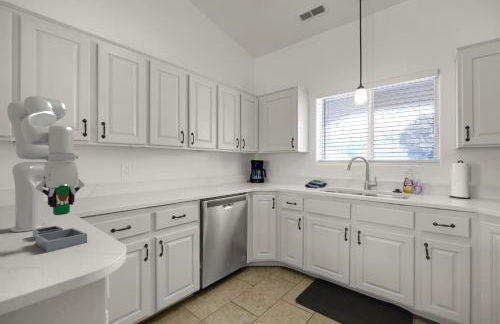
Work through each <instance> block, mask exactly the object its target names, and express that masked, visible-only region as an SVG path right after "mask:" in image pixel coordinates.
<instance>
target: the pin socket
mask: <svg viewBox="0 0 500 324" xmlns="http://www.w3.org/2000/svg"><path fill="white" fill-rule="evenodd" d="M60 230H64V229H63V227H60V226H58V225H51V226H46V227H44V228H40V229H35V230H32V238H34V239H35V235H39V234H44V233H50V232H55V231H60Z"/></svg>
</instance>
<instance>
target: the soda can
mask: <svg viewBox="0 0 500 324" xmlns="http://www.w3.org/2000/svg"><path fill="white" fill-rule="evenodd" d="M53 196H54V197H55V207H52V214H53V215H55V216H63V215H68V214H70V212H71V205H70V187H68V185H60V186H59V187H58V188H55V190H54V193H53Z"/></svg>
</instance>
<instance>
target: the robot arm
mask: <svg viewBox="0 0 500 324" xmlns="http://www.w3.org/2000/svg"><path fill="white" fill-rule="evenodd" d="M6 111H7V117H8V120H9V123H10V125H11V126H12V129H13V131H14V146H15V153H16V156H17V158H18V159H20V160H32V161H20V162H18V163H16V164H14V165H13V167H12V176H13V180H14V181H13V182H14V197H15V199H14V200H15V202H14V203H15V204H14V207H15V208H14V211H15V212H14V215H15V216H14V217H15V218H14V223H15V224H14V226H12V227H10V230H9V231H10V232H13V233H16V232H17V233H20V232H29V231H31V232H32V231H33V230H35V229H41V228H46V227H48V223H47V222H44V195H45V196H46V197H47V206H49V207H50V208H53V207H55V197H54V196H53V193H54V190H55V188H58V187H59V186H60V185H68V187H70V206H73V205H74V203H75V198H76V197H75V195H76V193H77V192H78V191H80V189H82V188H83V187H84V186H85V184H84V183H83V181H82V180H80V178H79V172H78V171H79V170H78V166H77V162H76V161H75V160H77V159H78V160H79V156H78V155H75V151H74V150H75V149H74V148H75V147H74V142H75V141H74V140H75V139H74V138H75V136H74V135H75V132H74V129H73V128H72V127H71V126H67V125H56V123H57V122H58V121H59V120H61V119H63V118H65V116H66V113H67V106H66V105H65V103H64V101H62V100H59V99H55V98H49V97H45V96H39V95H38V96H37V95H32V96H27V97H25V99H24V100H23V101H22V100H19V101H18V100H17V101H16V100H14V101H11V102H9V103H8V105H7V108H6ZM33 160H34V161H33ZM35 160H36V161H35ZM37 160H39V161H37ZM40 160H42V161H40ZM43 160H45V161H43ZM37 182H40V183H38V184H37ZM45 188H46V189H45Z"/></svg>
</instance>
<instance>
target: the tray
mask: <svg viewBox="0 0 500 324" xmlns="http://www.w3.org/2000/svg"><path fill="white" fill-rule="evenodd" d="M34 239H35V240H34V245H35V246H37V247H38V248H40V249H41V250H42V251H44V252H46V253H50V252H54V251H58V250H62V249H67V248H70V247H75V246H79V245H84V244H87V243H88V233H87V232H84V231H82V230H79V229H77V228H74V227H70V228H65V229H63V230H60V231H55V232H50V233H44V234H39V235H35V238H34Z"/></svg>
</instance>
